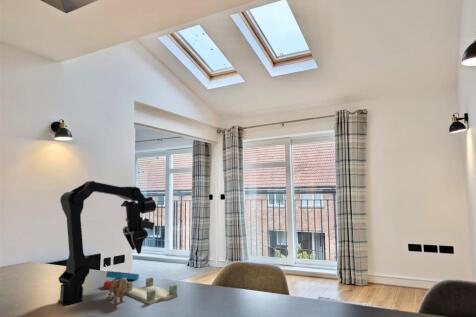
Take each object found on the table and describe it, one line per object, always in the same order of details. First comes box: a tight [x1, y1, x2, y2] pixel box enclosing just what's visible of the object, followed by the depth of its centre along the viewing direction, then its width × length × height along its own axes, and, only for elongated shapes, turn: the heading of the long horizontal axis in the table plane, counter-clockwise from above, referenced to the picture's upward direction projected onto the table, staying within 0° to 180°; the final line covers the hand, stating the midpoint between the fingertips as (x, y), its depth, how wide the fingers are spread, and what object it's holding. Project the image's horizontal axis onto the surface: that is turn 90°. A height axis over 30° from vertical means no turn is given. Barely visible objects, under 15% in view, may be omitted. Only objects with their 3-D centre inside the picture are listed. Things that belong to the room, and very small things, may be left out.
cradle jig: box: [124, 276, 178, 305], centre depth 124 cm, size 12×19×4 cm, turn 47°
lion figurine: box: [107, 278, 133, 306], centre depth 117 cm, size 15×5×9 cm, turn 44°
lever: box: [103, 270, 140, 290], centre depth 140 cm, size 7×7×18 cm
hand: (136, 251), depth 138 cm, fingers open, 9 cm apart
